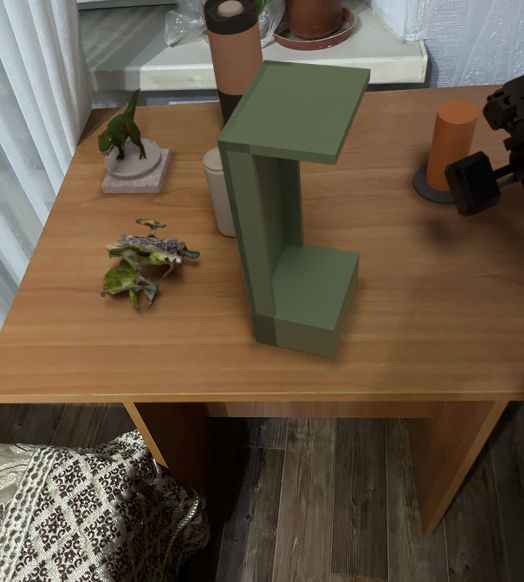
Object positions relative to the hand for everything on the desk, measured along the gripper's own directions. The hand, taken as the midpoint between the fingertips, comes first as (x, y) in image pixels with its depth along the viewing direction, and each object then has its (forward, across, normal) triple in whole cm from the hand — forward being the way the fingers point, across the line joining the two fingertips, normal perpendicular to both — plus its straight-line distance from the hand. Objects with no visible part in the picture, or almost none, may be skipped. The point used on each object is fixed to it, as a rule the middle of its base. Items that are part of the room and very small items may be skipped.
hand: (486, 174), depth 71 cm
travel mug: (+29, +20, -22) cm, 41 cm away
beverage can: (+15, +30, -7) cm, 34 cm away
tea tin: (+11, 0, -1) cm, 11 cm away
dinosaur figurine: (+28, +39, -23) cm, 53 cm away
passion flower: (+11, +44, -4) cm, 46 cm away
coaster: (+11, 0, -1) cm, 11 cm away
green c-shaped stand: (+1, +27, +7) cm, 28 cm away
